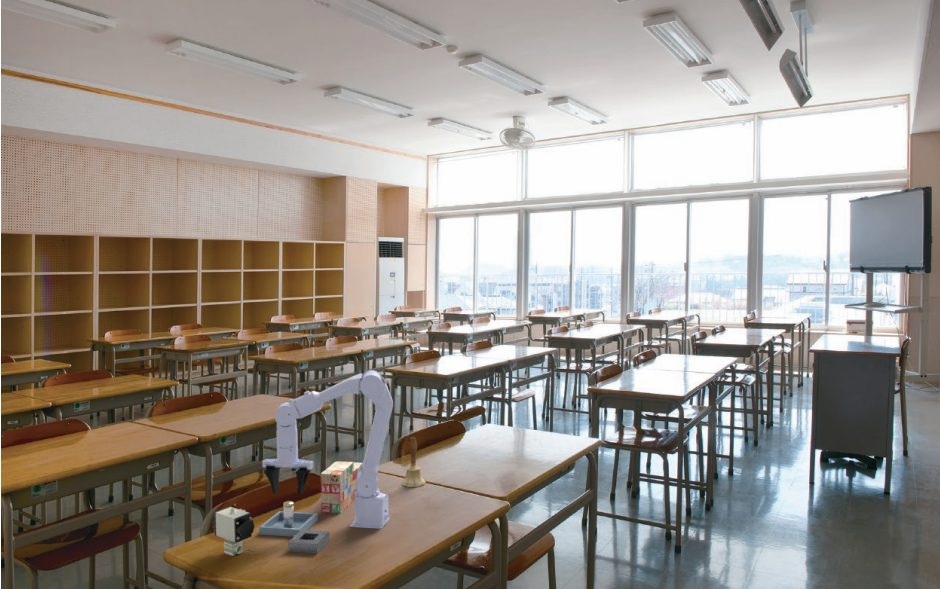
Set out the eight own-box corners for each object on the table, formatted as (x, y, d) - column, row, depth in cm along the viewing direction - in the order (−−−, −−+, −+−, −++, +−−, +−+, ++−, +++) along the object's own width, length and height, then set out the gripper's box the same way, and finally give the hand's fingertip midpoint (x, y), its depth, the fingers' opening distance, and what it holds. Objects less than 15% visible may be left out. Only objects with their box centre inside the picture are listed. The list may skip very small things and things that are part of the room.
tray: (317, 521, 191) (317, 513, 191) (299, 538, 179) (299, 529, 179) (279, 519, 193) (279, 511, 193) (259, 536, 182) (259, 527, 181)
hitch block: (329, 542, 177) (329, 531, 177) (317, 555, 169) (317, 544, 169) (301, 540, 178) (301, 529, 178) (288, 553, 170) (288, 541, 170)
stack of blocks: (346, 489, 220) (345, 452, 219) (364, 489, 219) (363, 453, 218) (321, 512, 199) (320, 472, 198) (340, 513, 198) (339, 473, 197)
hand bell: (404, 479, 229) (403, 434, 228) (427, 480, 228) (427, 434, 227) (398, 487, 221) (398, 440, 220) (422, 488, 220) (422, 441, 219)
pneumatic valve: (240, 562, 165) (239, 515, 165) (212, 551, 172) (210, 506, 171) (258, 554, 170) (257, 508, 169) (230, 544, 176) (228, 500, 176)
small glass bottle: (296, 526, 186) (295, 502, 186) (288, 529, 184) (287, 505, 184) (289, 524, 188) (289, 500, 188) (281, 527, 186) (281, 503, 186)
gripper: (317, 442, 188) (318, 489, 189) (270, 440, 191) (271, 486, 191) (306, 449, 181) (307, 497, 182) (258, 447, 184) (259, 495, 184)
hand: (288, 492), depth 186 cm, fingers open, 7 cm apart
